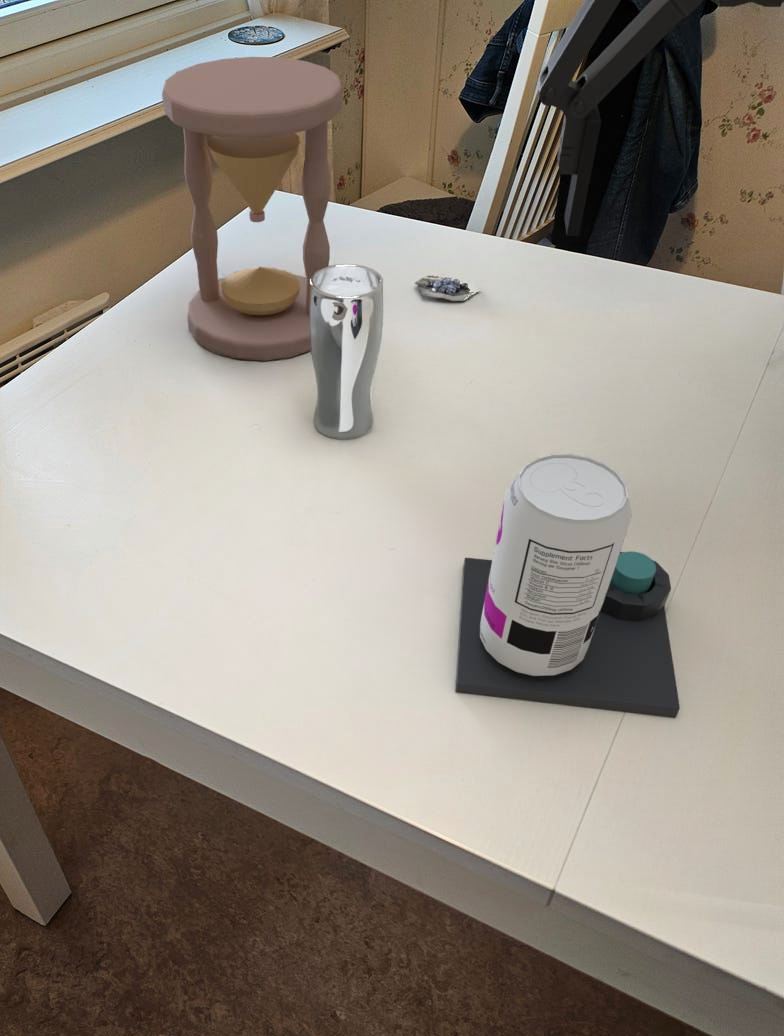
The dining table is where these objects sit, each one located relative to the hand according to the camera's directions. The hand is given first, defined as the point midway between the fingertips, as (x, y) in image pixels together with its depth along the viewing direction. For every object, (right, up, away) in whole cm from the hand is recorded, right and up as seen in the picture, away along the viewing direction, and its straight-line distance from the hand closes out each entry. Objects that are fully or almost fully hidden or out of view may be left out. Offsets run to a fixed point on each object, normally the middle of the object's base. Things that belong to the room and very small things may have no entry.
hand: (682, 230), depth 56 cm
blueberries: (-6, +17, +54) cm, 57 cm away
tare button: (+2, -21, +15) cm, 26 cm away
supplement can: (-6, -26, +13) cm, 30 cm away
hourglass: (-29, +12, +49) cm, 58 cm away
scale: (-3, -25, +15) cm, 30 cm away
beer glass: (-20, -4, +35) cm, 41 cm away
